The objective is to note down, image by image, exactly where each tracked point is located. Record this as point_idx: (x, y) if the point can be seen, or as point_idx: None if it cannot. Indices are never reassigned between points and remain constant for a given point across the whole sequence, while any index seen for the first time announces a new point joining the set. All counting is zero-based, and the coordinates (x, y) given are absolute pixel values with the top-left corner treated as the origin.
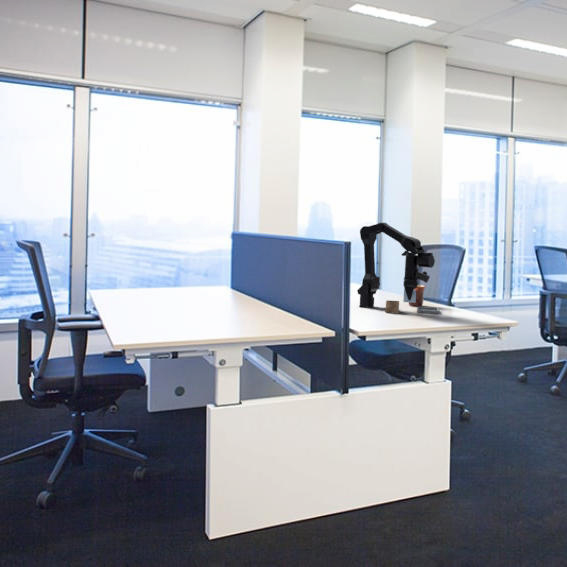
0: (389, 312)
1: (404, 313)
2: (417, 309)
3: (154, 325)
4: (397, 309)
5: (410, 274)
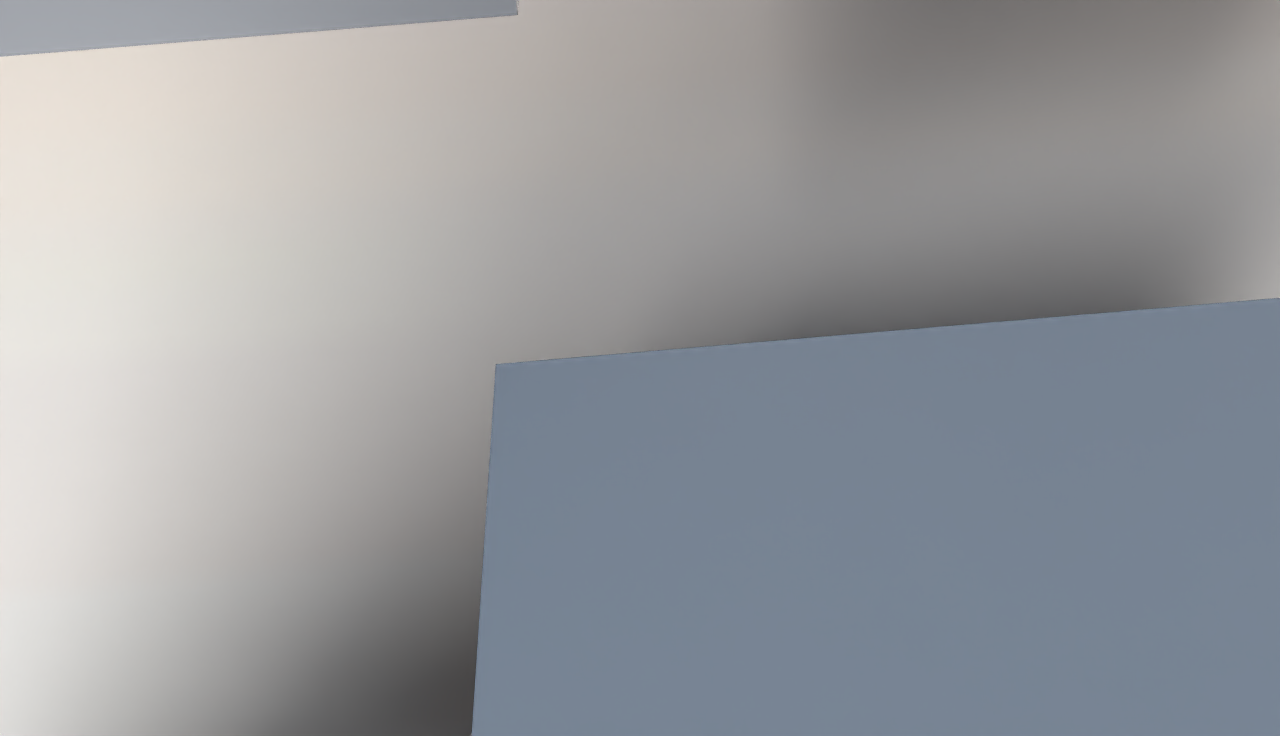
0: None
1: None
2: (427, 8)
3: None
4: None
5: None
